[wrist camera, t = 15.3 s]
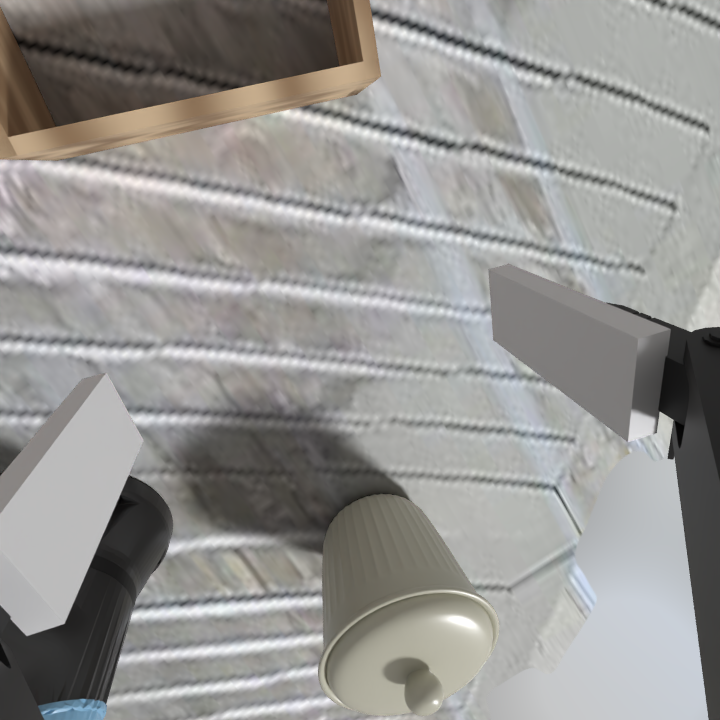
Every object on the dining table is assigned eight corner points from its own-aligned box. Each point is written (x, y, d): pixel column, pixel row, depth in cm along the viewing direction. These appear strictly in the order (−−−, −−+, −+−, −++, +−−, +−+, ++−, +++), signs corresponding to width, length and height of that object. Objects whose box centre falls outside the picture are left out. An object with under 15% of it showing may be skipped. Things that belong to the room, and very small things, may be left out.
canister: (442, 460, 53) (540, 621, 34) (434, 562, 61) (511, 739, 42) (297, 482, 50) (318, 673, 31) (308, 587, 58) (330, 791, 39)
